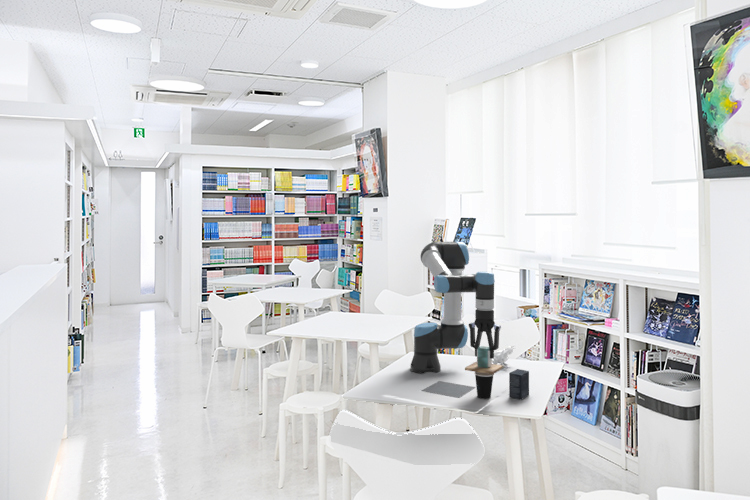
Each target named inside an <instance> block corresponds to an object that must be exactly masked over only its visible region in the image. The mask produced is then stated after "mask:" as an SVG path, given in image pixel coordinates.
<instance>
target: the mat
mask: <svg viewBox="0 0 750 500" xmlns="http://www.w3.org/2000/svg"><path fill="white" fill-rule="evenodd" d="M474 389H477V387H476V386H472V385H466V384H459V383H455V382H453V383H452V382H447V381H442V380H438V381H436V382H435V383H434V382H433V384H431V385H429V386H427V387H426V388H423V389H420V391H421V392H424V393H430V394H434V395H435V394H436V395H441V396H446V397H452V398H457V399H460V398H462V397H463V396H465V395H466V394H468V393H470V392H471V391H473V390H474Z"/></svg>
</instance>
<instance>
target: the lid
mask: <svg viewBox="0 0 750 500" xmlns="http://www.w3.org/2000/svg"><path fill="white" fill-rule="evenodd" d="M489 350H490V349H489V346H484V345H481V346H479V348H478V365H477V361H475V362H472V363H471V364H469V365H467V366H466V367H464V370H465V371H468V372H474V373H475V372H481V373H487V374H494V375H495V374H496V373H497V372H499V371H501V370H502V369H503V368H504V367H503V365H501V364H497V365H496V364H493V363H492V366H490V367H488V351H489Z"/></svg>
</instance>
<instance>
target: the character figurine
mask: <svg viewBox="0 0 750 500" xmlns="http://www.w3.org/2000/svg"><path fill="white" fill-rule="evenodd" d="M515 347H516V346H515V345H513V346H508V345H507V346H506V347H505V348H504V349H502V350H497V351H494V358H493V359H492V364H496V365H503V368H506V369H509V366H508V365H505V363H506V362H507V361H508V360H509V357H508V355H511V354H512V353H514V349H516V348H515Z"/></svg>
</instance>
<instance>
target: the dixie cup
mask: <svg viewBox="0 0 750 500" xmlns="http://www.w3.org/2000/svg"><path fill="white" fill-rule="evenodd" d="M474 375H475V387H476V395H477V398H479V399H482V400H487V399H490V398H491V396H492V391H493V390H492V389H493V388H492V387H493V383H494V382H493V380H494V375H495V373H494V374H487V373H481V372H474Z"/></svg>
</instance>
